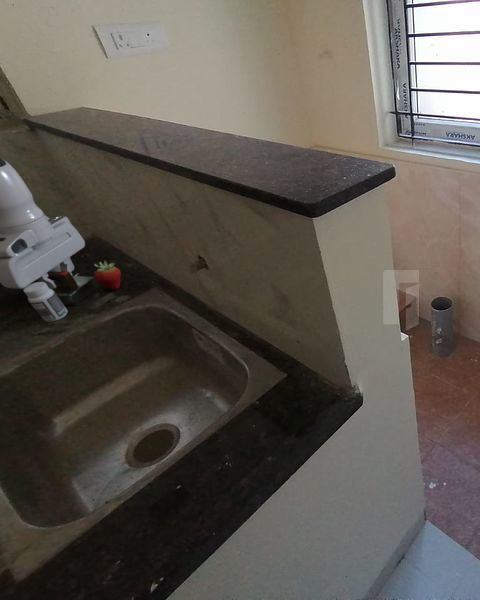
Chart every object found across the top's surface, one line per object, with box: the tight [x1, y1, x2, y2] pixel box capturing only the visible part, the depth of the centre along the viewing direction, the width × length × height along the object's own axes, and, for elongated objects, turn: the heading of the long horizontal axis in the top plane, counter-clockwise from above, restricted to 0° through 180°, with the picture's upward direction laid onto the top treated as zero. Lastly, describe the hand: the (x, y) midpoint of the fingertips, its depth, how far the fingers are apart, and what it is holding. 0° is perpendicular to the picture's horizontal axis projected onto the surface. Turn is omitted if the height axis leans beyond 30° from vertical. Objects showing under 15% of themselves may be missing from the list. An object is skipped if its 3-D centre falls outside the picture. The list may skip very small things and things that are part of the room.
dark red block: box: [47, 271, 77, 287], centre depth 94 cm, size 6×2×4 cm, turn 85°
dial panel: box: [49, 272, 100, 306], centre depth 96 cm, size 10×10×3 cm
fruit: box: [93, 259, 122, 291], centre depth 96 cm, size 5×5×8 cm
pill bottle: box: [23, 281, 69, 323], centre depth 88 cm, size 5×5×8 cm
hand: (61, 282), depth 95 cm, fingers open, 3 cm apart
